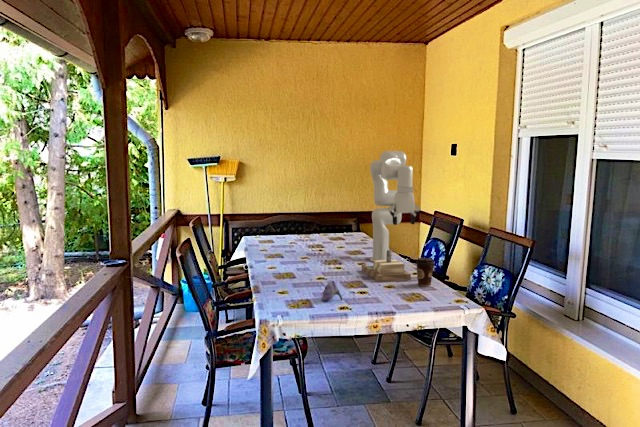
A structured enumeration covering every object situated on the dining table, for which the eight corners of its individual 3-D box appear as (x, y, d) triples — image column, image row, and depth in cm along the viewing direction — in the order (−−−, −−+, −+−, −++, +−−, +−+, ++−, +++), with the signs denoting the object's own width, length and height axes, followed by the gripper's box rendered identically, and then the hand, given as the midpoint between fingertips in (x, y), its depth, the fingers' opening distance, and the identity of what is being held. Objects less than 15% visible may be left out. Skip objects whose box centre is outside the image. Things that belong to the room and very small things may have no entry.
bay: (361, 270, 266) (361, 264, 266) (390, 269, 270) (390, 263, 270) (378, 282, 241) (378, 275, 240) (410, 280, 245) (410, 274, 245)
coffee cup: (419, 287, 231) (420, 261, 229) (412, 283, 239) (412, 257, 237) (436, 286, 233) (437, 260, 232) (428, 282, 241) (429, 256, 240)
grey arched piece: (346, 282, 213) (326, 274, 210) (347, 295, 206) (327, 286, 203) (335, 297, 217) (316, 288, 214) (336, 310, 210) (316, 301, 207)
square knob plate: (373, 273, 255) (373, 248, 254) (394, 272, 258) (395, 248, 257) (381, 278, 244) (382, 253, 242) (403, 277, 247) (404, 252, 245)
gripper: (416, 189, 250) (415, 223, 252) (385, 190, 246) (384, 223, 247) (423, 190, 243) (422, 224, 245) (391, 191, 239) (391, 225, 240)
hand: (403, 224), depth 246 cm, fingers open, 9 cm apart
